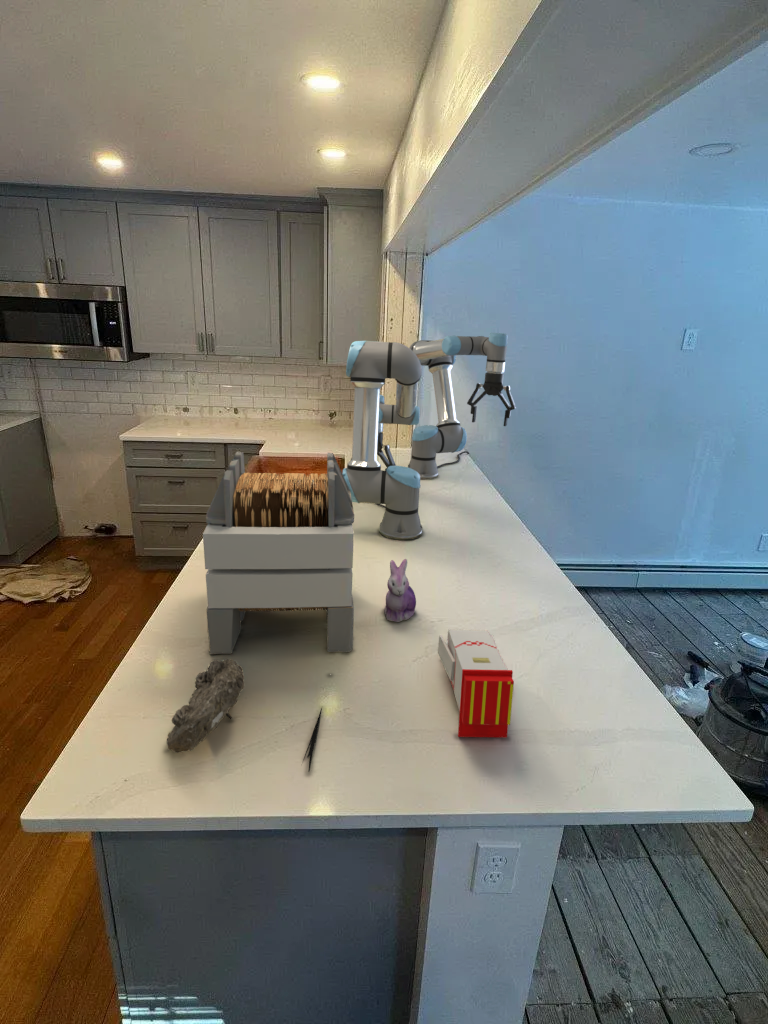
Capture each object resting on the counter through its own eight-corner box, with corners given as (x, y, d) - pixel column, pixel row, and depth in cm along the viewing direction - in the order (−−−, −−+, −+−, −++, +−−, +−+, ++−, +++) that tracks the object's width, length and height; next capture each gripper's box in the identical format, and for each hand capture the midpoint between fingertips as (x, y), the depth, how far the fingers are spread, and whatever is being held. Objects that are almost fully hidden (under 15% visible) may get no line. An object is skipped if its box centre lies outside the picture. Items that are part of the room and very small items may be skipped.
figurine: (392, 627, 141) (395, 572, 136) (374, 608, 149) (376, 556, 144) (425, 619, 145) (429, 566, 140) (405, 601, 154) (408, 550, 149)
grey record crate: (229, 585, 158) (221, 442, 144) (346, 584, 161) (350, 444, 148) (206, 656, 126) (193, 481, 112) (353, 652, 130) (358, 483, 116)
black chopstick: (331, 679, 122) (336, 673, 122) (307, 777, 96) (313, 769, 95) (324, 675, 122) (329, 669, 121) (298, 772, 95) (304, 764, 95)
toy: (488, 613, 130) (523, 677, 101) (484, 667, 133) (517, 744, 104) (435, 612, 130) (455, 676, 101) (432, 666, 133) (451, 743, 103)
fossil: (192, 660, 117) (244, 628, 112) (224, 691, 120) (276, 661, 115) (142, 746, 98) (202, 712, 93) (182, 779, 101) (242, 748, 96)
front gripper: (404, 434, 237) (402, 482, 244) (351, 426, 246) (350, 473, 253) (397, 437, 230) (395, 487, 238) (343, 429, 239) (342, 477, 247)
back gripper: (527, 374, 231) (520, 425, 238) (467, 369, 240) (463, 419, 248) (523, 375, 225) (516, 428, 232) (462, 370, 234) (458, 421, 241)
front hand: (372, 480), depth 245 cm, fingers open, 13 cm apart
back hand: (489, 423), depth 240 cm, fingers open, 13 cm apart
